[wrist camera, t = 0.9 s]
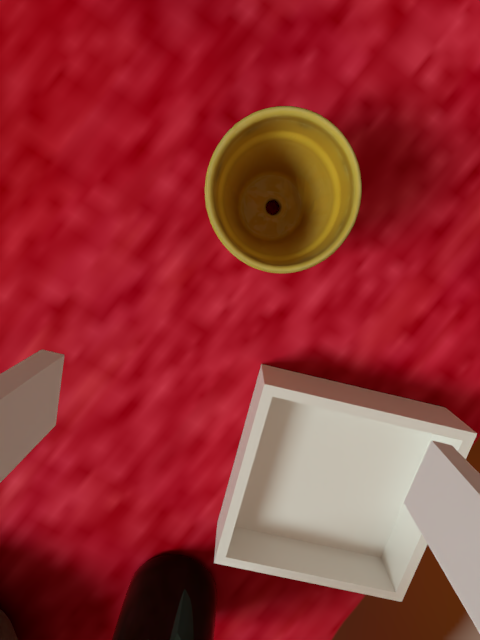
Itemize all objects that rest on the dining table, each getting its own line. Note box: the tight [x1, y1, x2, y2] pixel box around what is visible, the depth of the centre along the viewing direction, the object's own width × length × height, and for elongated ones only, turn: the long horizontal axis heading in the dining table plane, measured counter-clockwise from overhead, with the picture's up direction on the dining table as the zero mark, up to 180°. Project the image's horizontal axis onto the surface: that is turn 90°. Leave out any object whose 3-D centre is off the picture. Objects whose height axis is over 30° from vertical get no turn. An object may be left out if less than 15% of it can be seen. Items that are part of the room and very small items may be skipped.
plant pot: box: [205, 106, 362, 273], centre depth 27 cm, size 10×10×10 cm
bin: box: [214, 364, 477, 602], centre depth 36 cm, size 20×20×5 cm
